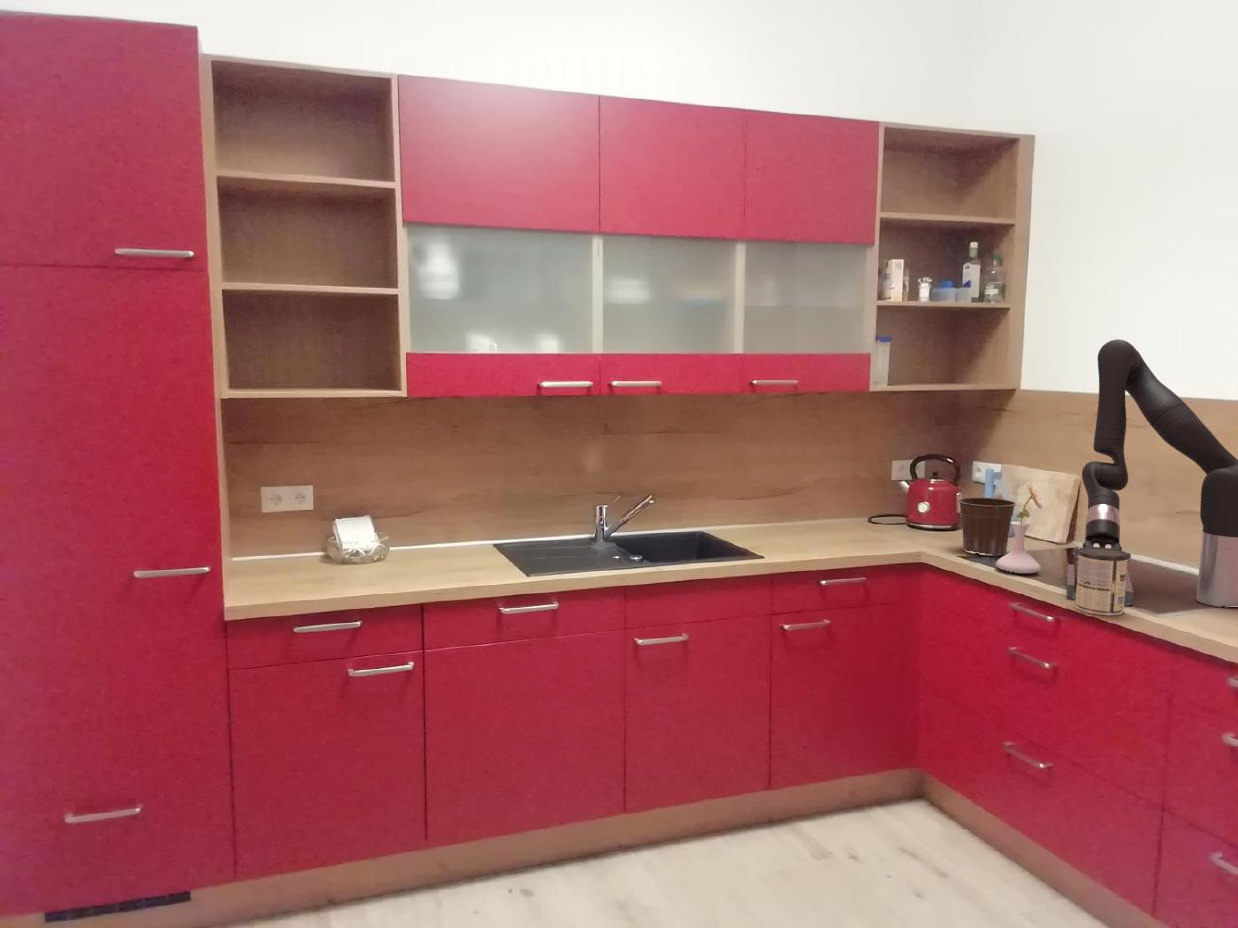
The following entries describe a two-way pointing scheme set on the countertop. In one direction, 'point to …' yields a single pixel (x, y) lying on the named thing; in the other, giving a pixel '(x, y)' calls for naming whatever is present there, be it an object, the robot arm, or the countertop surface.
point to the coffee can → (1101, 580)
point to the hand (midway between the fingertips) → (1100, 584)
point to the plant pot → (986, 524)
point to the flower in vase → (1021, 544)
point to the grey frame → (1071, 586)
